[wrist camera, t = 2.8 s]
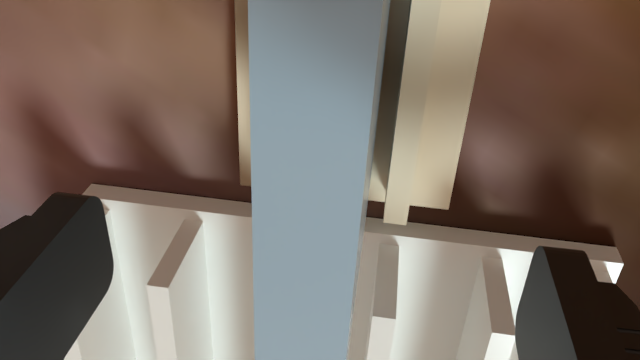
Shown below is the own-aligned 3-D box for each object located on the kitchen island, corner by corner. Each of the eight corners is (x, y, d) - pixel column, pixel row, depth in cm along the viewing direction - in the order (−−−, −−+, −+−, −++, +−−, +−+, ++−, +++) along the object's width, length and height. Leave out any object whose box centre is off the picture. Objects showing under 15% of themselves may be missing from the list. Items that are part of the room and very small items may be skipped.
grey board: (333, -129, 17) (246, -67, 8) (404, -125, 16) (389, -56, 8) (317, 171, 22) (255, 394, 14) (371, 177, 22) (341, 407, 13)
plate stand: (237, -177, 17) (207, -175, 15) (517, -161, 16) (534, -156, 14) (246, 171, 24) (225, 214, 21) (447, 195, 23) (450, 242, 20)
